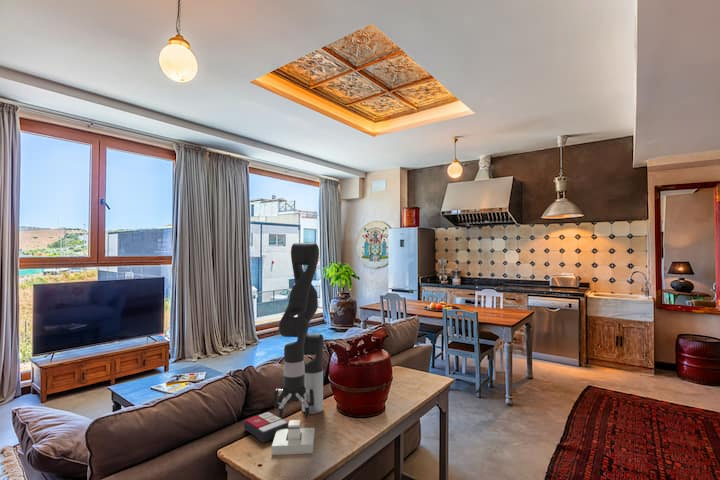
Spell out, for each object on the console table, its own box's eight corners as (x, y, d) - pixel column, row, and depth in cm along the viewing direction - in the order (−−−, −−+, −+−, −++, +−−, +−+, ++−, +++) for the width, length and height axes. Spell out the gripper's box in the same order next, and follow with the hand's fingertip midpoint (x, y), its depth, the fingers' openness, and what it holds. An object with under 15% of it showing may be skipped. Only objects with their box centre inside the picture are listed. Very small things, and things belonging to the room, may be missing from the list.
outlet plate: (276, 437, 135) (276, 429, 136) (314, 435, 137) (314, 427, 137) (271, 455, 123) (271, 446, 124) (312, 453, 125) (312, 444, 125)
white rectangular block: (289, 442, 132) (289, 420, 132) (300, 442, 132) (300, 419, 132) (288, 448, 128) (288, 425, 128) (299, 448, 128) (299, 425, 128)
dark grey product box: (268, 410, 149) (288, 420, 138) (268, 421, 149) (289, 432, 138) (243, 419, 141) (262, 431, 131) (243, 430, 141) (263, 443, 130)
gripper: (314, 368, 135) (314, 411, 135) (275, 369, 134) (276, 413, 134) (313, 375, 128) (313, 421, 128) (272, 377, 127) (272, 423, 127)
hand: (294, 417), depth 131 cm, fingers open, 8 cm apart
